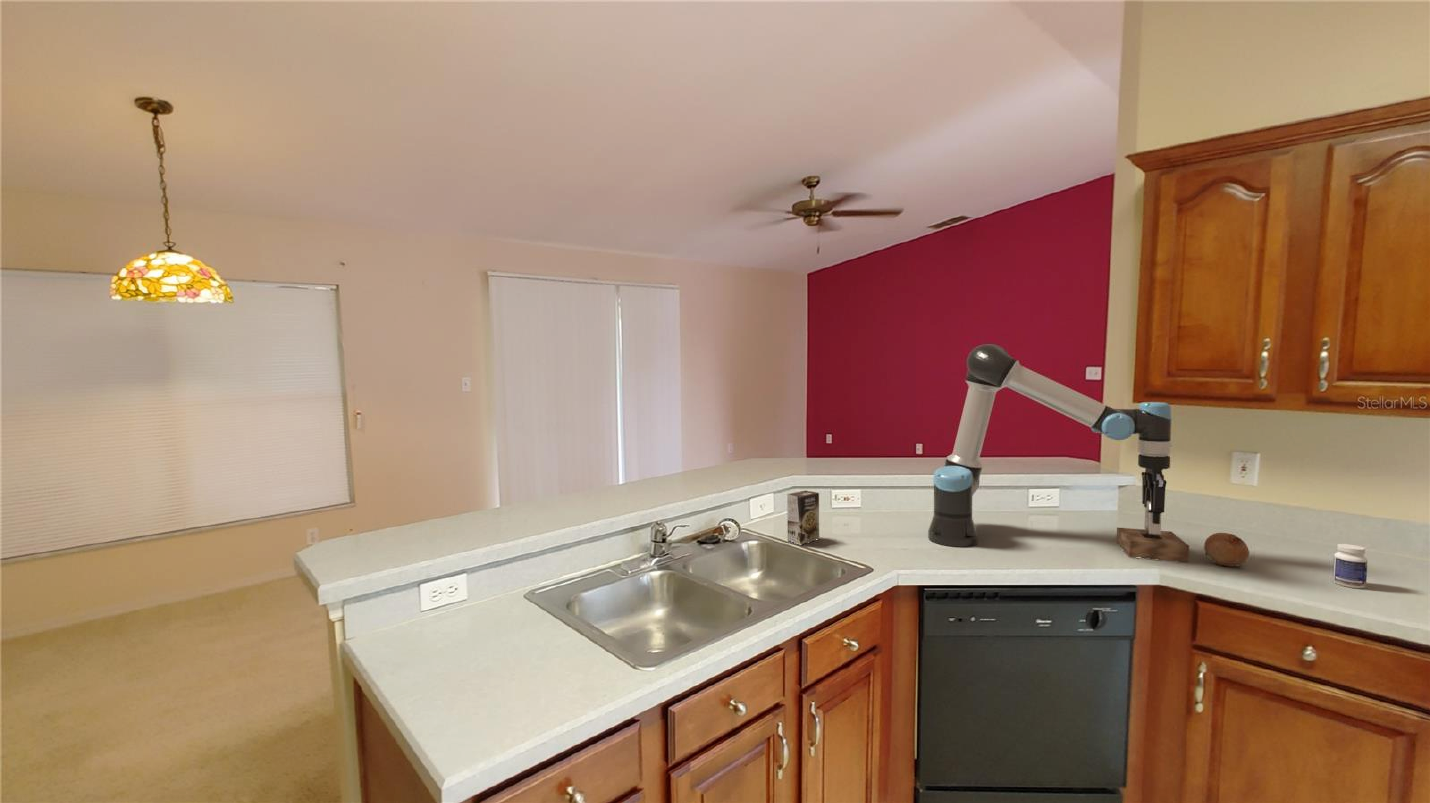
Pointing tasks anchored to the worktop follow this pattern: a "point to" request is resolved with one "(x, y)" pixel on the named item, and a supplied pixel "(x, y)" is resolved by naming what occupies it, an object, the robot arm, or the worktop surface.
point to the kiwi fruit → (1226, 549)
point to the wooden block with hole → (1152, 545)
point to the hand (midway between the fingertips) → (1152, 531)
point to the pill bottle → (1350, 566)
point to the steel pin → (1148, 523)
